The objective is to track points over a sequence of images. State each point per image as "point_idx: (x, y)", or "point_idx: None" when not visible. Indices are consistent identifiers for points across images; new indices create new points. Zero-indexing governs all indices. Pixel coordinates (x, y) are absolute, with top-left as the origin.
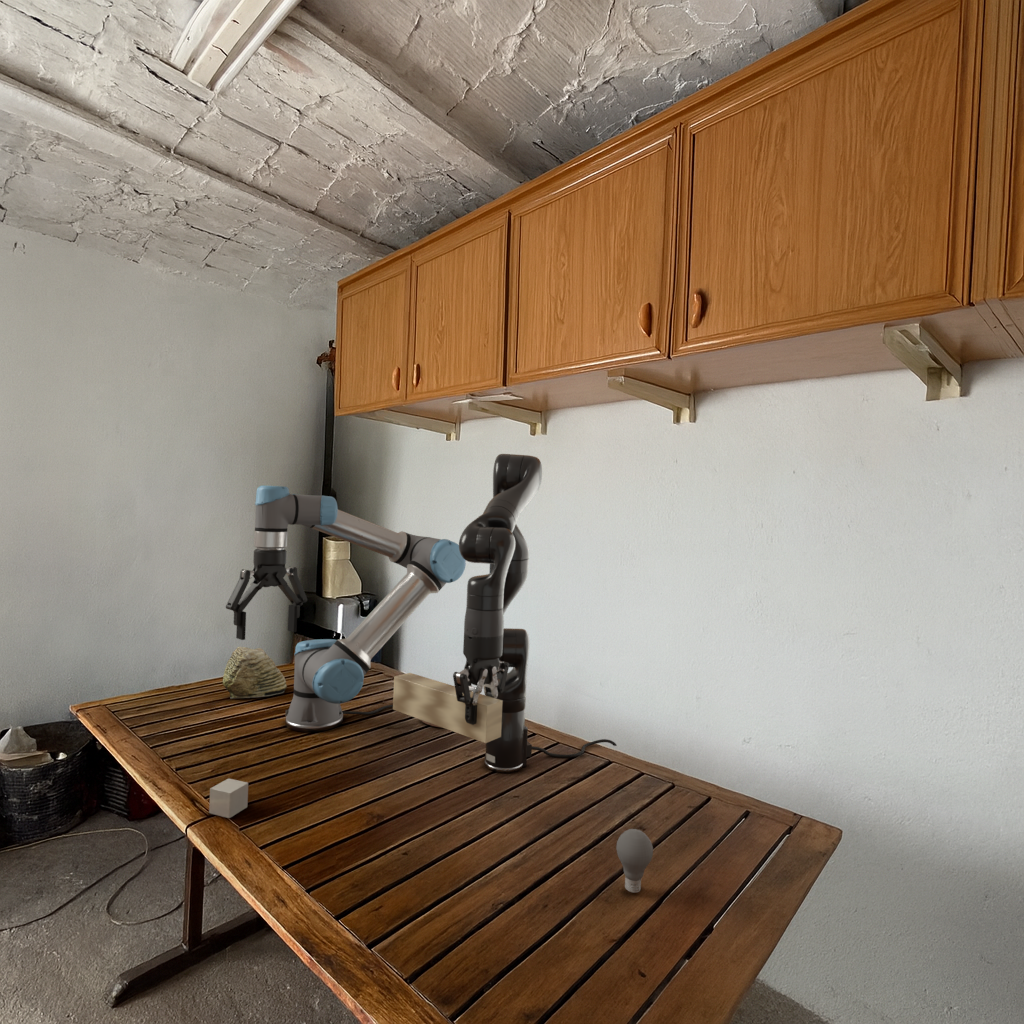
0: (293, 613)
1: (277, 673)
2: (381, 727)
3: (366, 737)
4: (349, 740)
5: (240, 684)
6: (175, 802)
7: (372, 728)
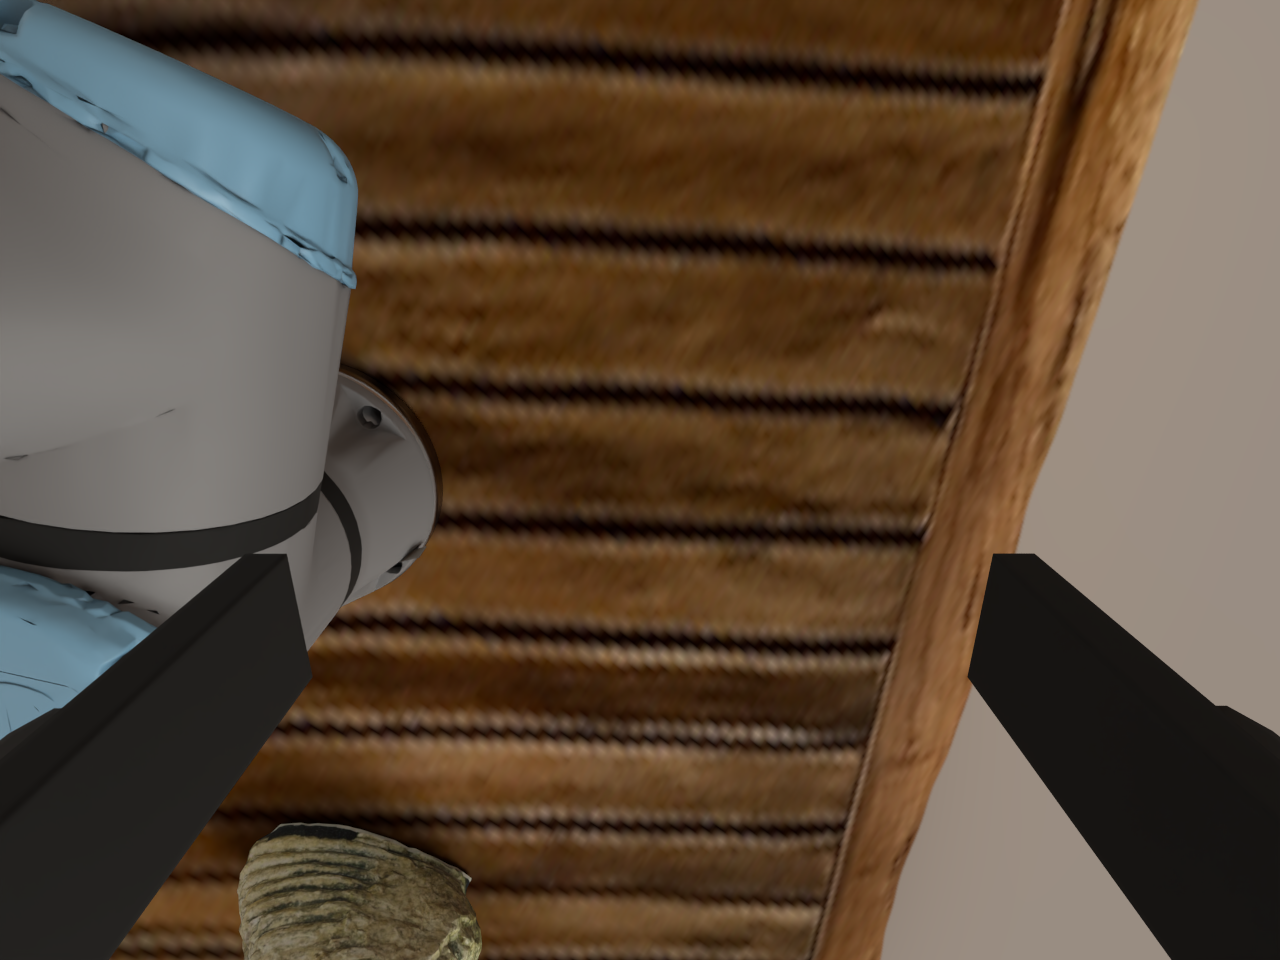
0: (102, 764)
1: (263, 908)
2: None
3: None
4: None
5: (434, 902)
6: (1125, 133)
7: None
